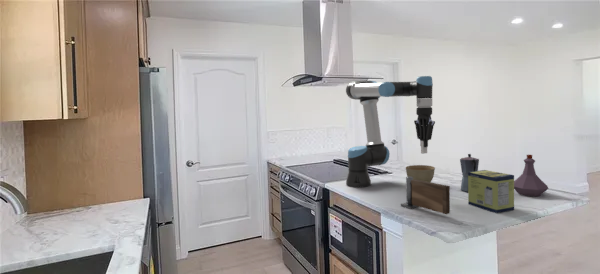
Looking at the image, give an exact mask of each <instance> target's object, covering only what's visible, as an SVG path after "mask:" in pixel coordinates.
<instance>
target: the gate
mask: <svg viewBox="0 0 600 274" xmlns="http://www.w3.org/2000/svg"><path fill="white" fill-rule="evenodd" d="M411 184H412V205H415V206H419V207H418V208H422V209H425V210H430V211H433V212H436V213H441V214H443V215H449V214H451V213H450V211H451V210H450V209H451V206H450V201H451V199H450V190H451V189H450V188H451V187H450V185H446V184H440V183H436V182H432V181H431V182H426V181H421V180H416V179H414V180H411Z"/></svg>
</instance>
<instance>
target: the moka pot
mask: <svg viewBox="0 0 600 274" xmlns="http://www.w3.org/2000/svg"><path fill="white" fill-rule="evenodd" d="M459 164H460V168H461V169H460V170H461V174H462V178H461V185H460V190H461V192H466V193H468V172H473V171H479V165H480V158H476V157H472V154H471V153H467V156H466V157H461V158H460V159H459Z"/></svg>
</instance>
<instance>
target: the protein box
mask: <svg viewBox="0 0 600 274" xmlns="http://www.w3.org/2000/svg"><path fill="white" fill-rule="evenodd" d="M514 181H515V175H513V174H509V173H502V172H498V171H492V170H487V169H482V170H478V171H473V172H468V192H467V194H468V195H467V199H468V201H467V203H468V205H470V206H473V207H476V208H479V209H482V210H485V211H487V212H492V213H495V214H498V213H504V212H509V211H514V210H515V189H514Z"/></svg>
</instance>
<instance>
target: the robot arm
mask: <svg viewBox="0 0 600 274" xmlns="http://www.w3.org/2000/svg"><path fill="white" fill-rule="evenodd" d="M345 93H346V95H347V97H348V98H350V99H352V100H359V103H360V104H361V105H362V109H363V115H364V116H363V117H364V123H365V131H366V140H367V142H366V143H365V145H357V146H353V147H350V148H349V149H348V150H347V162H348V163H347V164H348V173H347V177H346V181H345V184H346V186H348V187H352V188H365V187H369V186H371V185H372V180H371V178H370V175H369V171H368V167H376V166H383V165H385V164H387V162H388V161H389V160H390V150H389V148H388V147H387V146H385V142H384V141H382V137H381V128H380V121H379V113H378V112H379V111H378V105H377V104H378V102H379V99H380V98H381V97H383V98H389V97H392V98H393V97H413V96H414V97H415V96H416V110H415V111H416V113H415V114H416V116H417V119H415V120H414V122H413V123H414V125H415V131H416V137H417V139H418V140H419V141H420V154H428V146H429V141H430V140H432V137H433V131H434V127H435V123H436V121H434V120H432V115H433V107H432V106H433V77H432V76H431V75H425V76H424V75H422V76H417V77H416V80H414V81H382V82H377V81H376V80H353V81H351V82H349V83H348V84H347V85H346V88H345Z"/></svg>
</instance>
